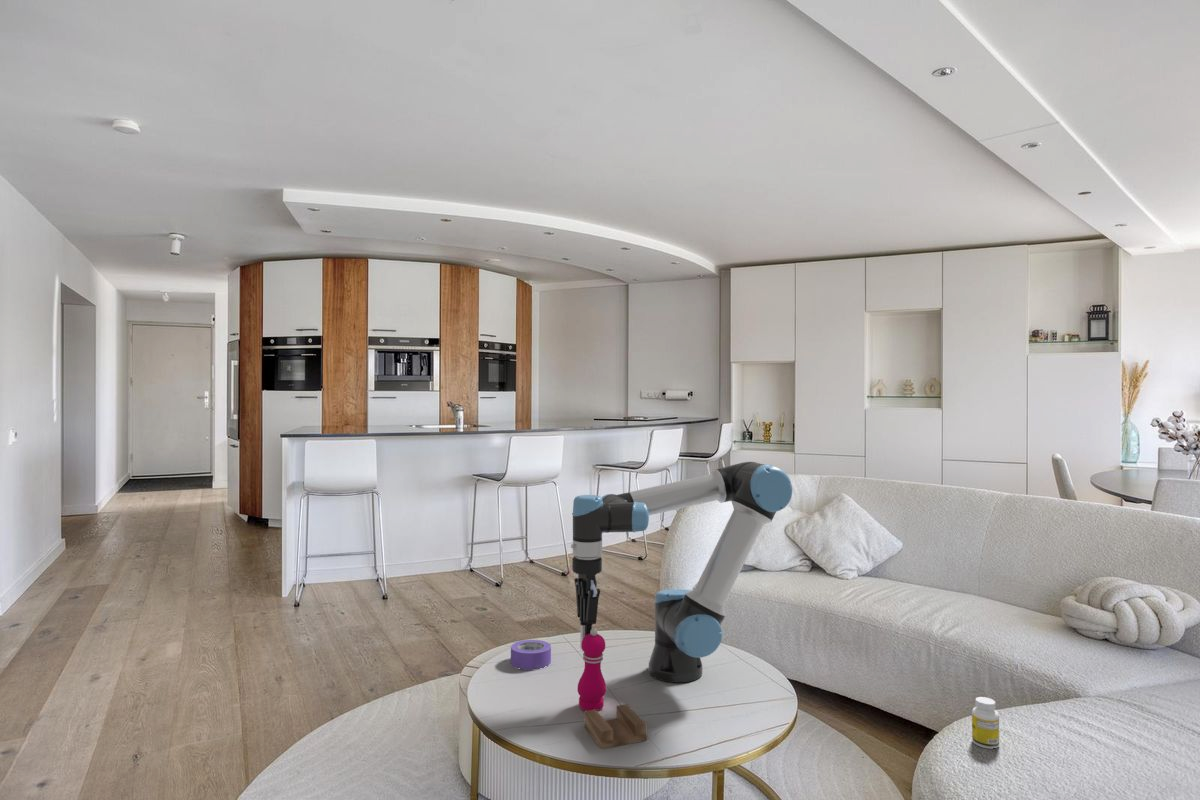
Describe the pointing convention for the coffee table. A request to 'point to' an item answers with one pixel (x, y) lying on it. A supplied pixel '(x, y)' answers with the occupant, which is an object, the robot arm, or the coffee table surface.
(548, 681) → the coffee table surface
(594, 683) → the pepper mill
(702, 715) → the coffee table surface
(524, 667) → the tape roll
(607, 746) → the cradle
